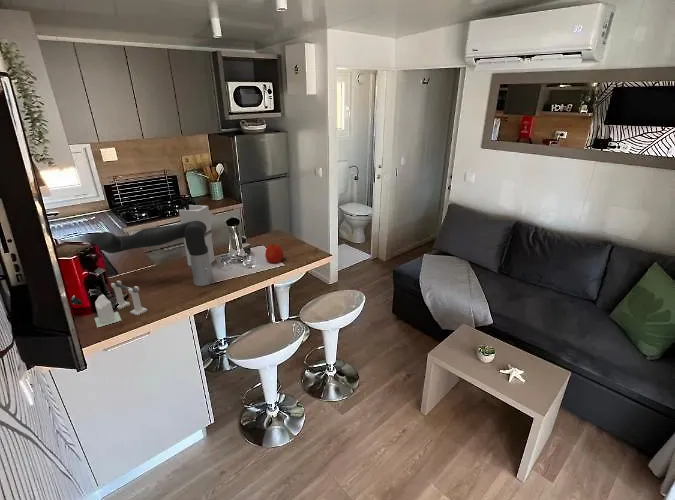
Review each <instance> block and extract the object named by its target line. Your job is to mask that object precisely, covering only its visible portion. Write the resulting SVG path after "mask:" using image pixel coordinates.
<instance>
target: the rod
mask: <svg viewBox="0 0 675 500" xmlns="http://www.w3.org/2000/svg"><path fill="white" fill-rule="evenodd" d="M113 283H114V284H115V285H116V286H117V287H120V288H121V289H124V290H125V291H128V289H132V290H133V292H135V293H137V292H138V293H139V291H138V290H136V289H134V287H130V286H127V285H125V284H122V285H121V284H118V283H117V282H113Z"/></svg>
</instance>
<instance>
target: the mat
mask: <svg viewBox="0 0 675 500" xmlns="http://www.w3.org/2000/svg"><path fill="white" fill-rule="evenodd" d="M113 312H114V311H113ZM114 316H115V319H114V320H112V321H110V322H106V323H102V322H100V320H99V316H97V317H94V321H95V325H96V328H97V329H99V328H98V327H102V326H105V325H108V326H110V325H109V324H111V325H113V324H112V323H115V324H117V323H116V322H118V323H120V322H119V321H121V322H122V321H123V320H122V318H121V316H120V314H119V312H118V311H115V312H114ZM105 327H106V326H105ZM102 328H103V327H102Z"/></svg>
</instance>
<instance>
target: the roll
mask: <svg viewBox="0 0 675 500" xmlns="http://www.w3.org/2000/svg"><path fill="white" fill-rule="evenodd" d="M94 304H95V305H94V306H95V309H96V313H97V317H99V320H100V322H102V323H106V322H110V321H112V320H114V319H115V316H114V307H113V304H112V302H111V300H110V299H108V298H107V297H106V296H105V295H104V294H103V293H102V295H100V296H98V297H97V299H96V300H95V302H94Z"/></svg>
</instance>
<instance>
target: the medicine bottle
mask: <svg viewBox="0 0 675 500" xmlns="http://www.w3.org/2000/svg"><path fill="white" fill-rule="evenodd" d="M242 244H243V249H244V251H245V253H247V254H251V255H252V250H251V244H250V243H248V239H247V237H246V236H242Z"/></svg>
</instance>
